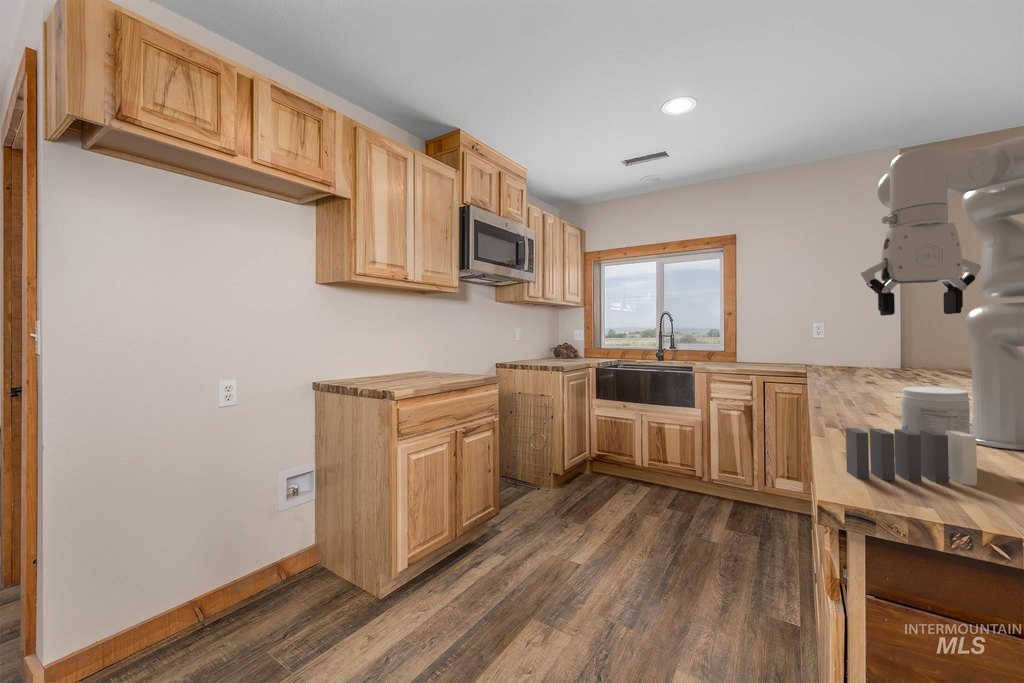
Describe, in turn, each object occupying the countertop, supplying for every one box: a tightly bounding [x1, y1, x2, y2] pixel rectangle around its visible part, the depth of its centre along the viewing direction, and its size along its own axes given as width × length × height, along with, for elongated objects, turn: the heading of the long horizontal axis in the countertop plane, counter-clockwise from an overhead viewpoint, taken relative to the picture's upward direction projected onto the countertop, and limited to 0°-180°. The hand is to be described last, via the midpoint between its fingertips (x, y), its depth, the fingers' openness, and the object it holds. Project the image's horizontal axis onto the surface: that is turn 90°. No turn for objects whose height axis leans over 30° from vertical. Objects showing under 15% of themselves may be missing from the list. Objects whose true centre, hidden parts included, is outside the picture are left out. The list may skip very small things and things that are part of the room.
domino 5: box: [946, 431, 978, 486], centre depth 74 cm, size 4×2×8 cm, turn 163°
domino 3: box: [893, 428, 922, 483], centre depth 76 cm, size 4×2×8 cm, turn 163°
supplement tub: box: [901, 386, 971, 435], centre depth 84 cm, size 10×10×15 cm
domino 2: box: [869, 428, 896, 482], centre depth 77 cm, size 4×2×8 cm, turn 163°
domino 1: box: [845, 427, 870, 480], centre depth 78 cm, size 4×2×8 cm, turn 163°
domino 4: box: [920, 430, 950, 484], centre depth 75 cm, size 4×2×8 cm, turn 163°
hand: (919, 314), depth 76 cm, fingers open, 9 cm apart
